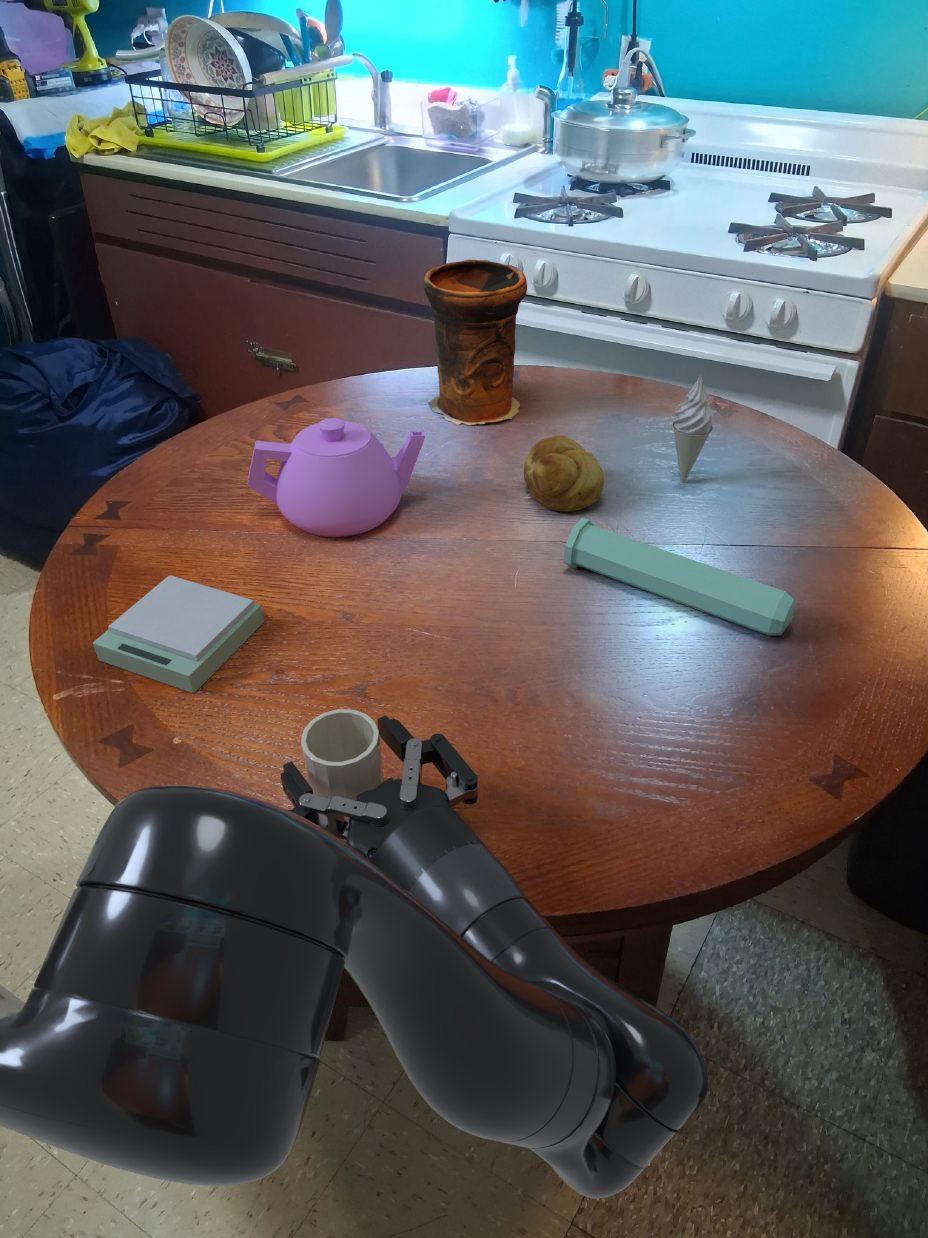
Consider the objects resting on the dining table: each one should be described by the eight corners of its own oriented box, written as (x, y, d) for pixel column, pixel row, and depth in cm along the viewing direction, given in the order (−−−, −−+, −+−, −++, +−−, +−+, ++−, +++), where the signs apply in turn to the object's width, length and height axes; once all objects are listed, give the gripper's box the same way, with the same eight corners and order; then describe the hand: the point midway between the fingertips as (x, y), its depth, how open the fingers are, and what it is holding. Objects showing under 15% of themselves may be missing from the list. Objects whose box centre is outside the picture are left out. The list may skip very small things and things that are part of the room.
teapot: (254, 553, 104) (236, 463, 96) (253, 486, 115) (238, 402, 108) (437, 532, 107) (434, 444, 99) (418, 470, 118) (414, 386, 111)
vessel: (451, 438, 126) (448, 297, 113) (413, 398, 136) (407, 266, 123) (539, 418, 130) (546, 281, 118) (496, 382, 140) (499, 252, 128)
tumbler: (363, 848, 71) (354, 775, 65) (300, 824, 73) (286, 750, 67) (398, 795, 75) (391, 722, 70) (337, 773, 77) (327, 700, 71)
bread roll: (511, 472, 118) (513, 417, 113) (580, 464, 119) (585, 410, 114) (537, 523, 108) (540, 465, 103) (611, 514, 110) (618, 457, 105)
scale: (194, 694, 85) (187, 669, 83) (98, 660, 89) (89, 636, 87) (264, 622, 94) (259, 598, 92) (174, 594, 97) (168, 571, 95)
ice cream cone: (656, 483, 115) (672, 375, 106) (675, 468, 118) (692, 362, 109) (690, 496, 113) (710, 386, 103) (709, 480, 116) (730, 372, 106)
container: (806, 581, 88) (585, 507, 99) (784, 627, 86) (560, 547, 96) (799, 611, 93) (589, 537, 104) (778, 656, 91) (566, 576, 101)
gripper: (533, 806, 61) (407, 676, 71) (356, 912, 54) (246, 754, 65) (529, 869, 66) (411, 740, 76) (365, 974, 59) (261, 817, 69)
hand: (335, 746), depth 70 cm, fingers open, 8 cm apart
